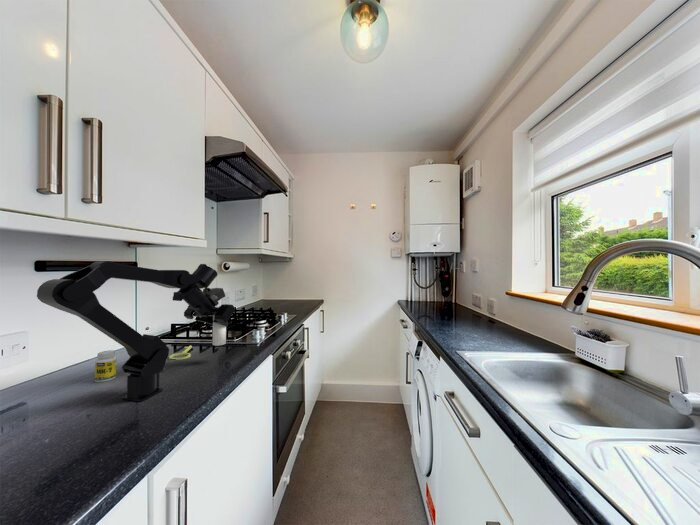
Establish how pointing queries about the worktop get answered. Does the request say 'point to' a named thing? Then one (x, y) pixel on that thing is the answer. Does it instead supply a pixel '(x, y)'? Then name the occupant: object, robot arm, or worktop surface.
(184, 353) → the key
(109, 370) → the supplement bottle
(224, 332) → the white bottle
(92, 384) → the worktop surface
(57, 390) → the worktop surface
